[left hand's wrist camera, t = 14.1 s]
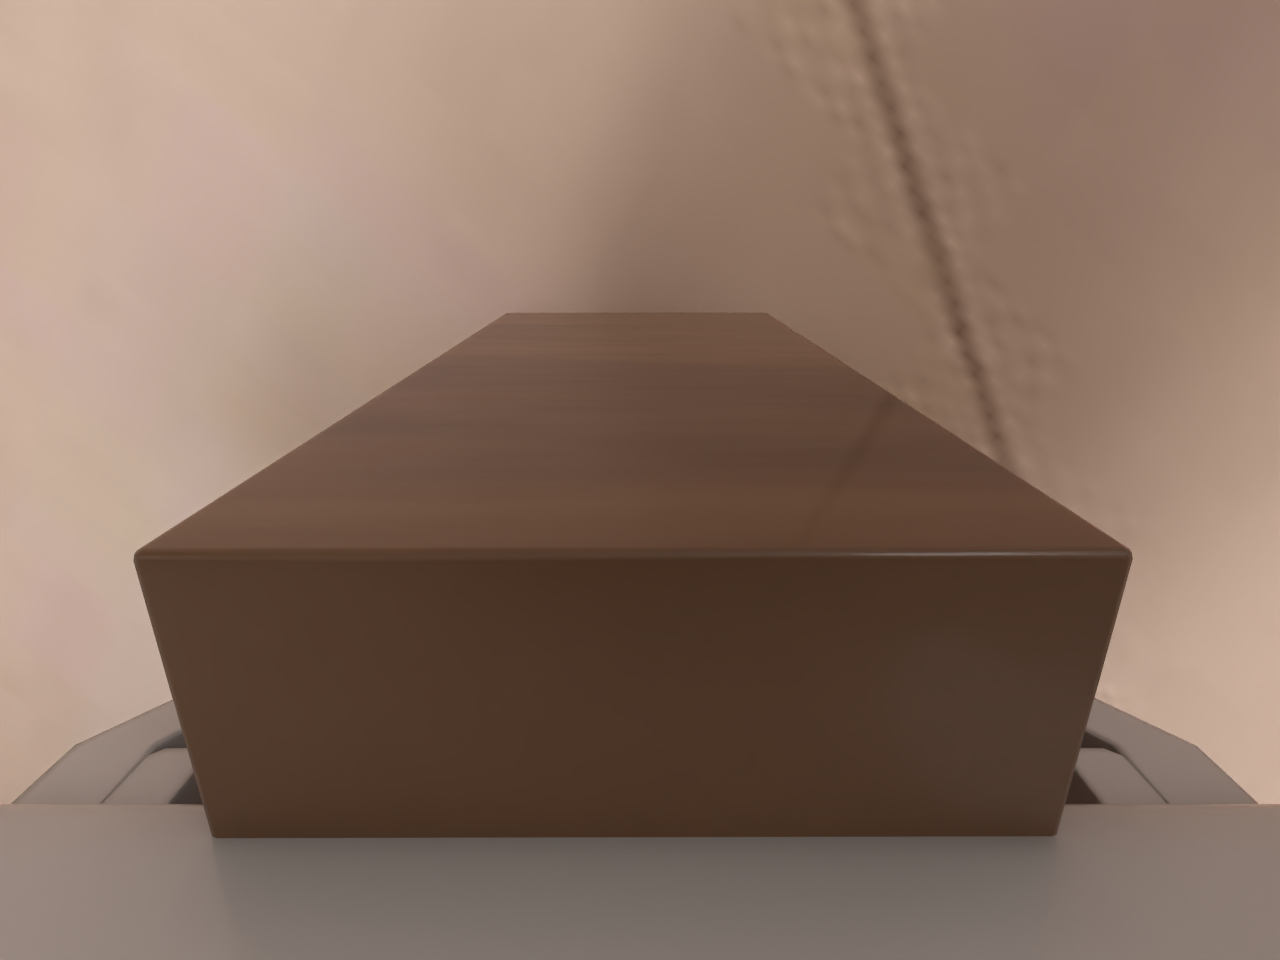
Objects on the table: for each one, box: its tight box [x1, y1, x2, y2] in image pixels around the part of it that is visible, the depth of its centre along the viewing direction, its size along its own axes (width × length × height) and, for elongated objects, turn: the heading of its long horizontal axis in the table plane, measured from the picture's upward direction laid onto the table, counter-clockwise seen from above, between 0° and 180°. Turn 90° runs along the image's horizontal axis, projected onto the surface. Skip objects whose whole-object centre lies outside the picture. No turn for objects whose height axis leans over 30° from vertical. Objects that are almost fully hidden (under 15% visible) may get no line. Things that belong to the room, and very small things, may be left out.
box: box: [134, 313, 1132, 838], centre depth 13 cm, size 22×6×12 cm, turn 0°
